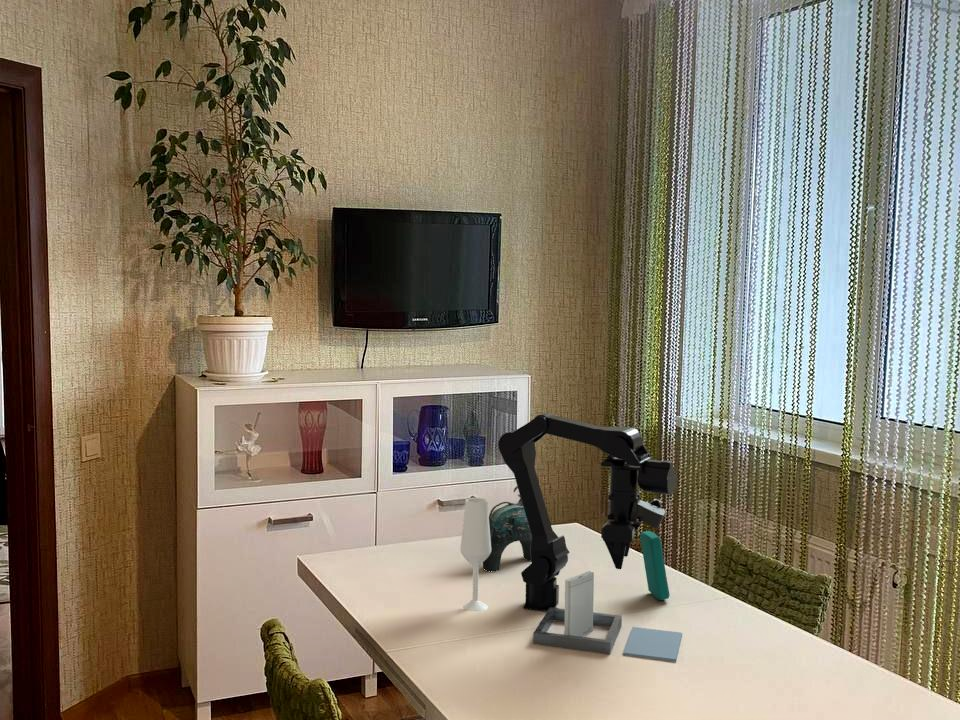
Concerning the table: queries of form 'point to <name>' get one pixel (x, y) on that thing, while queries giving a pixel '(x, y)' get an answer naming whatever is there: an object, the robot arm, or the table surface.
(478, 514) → the champagne flute
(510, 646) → the table surface
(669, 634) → the mat
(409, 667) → the table surface
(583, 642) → the gray square frame
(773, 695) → the table surface
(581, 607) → the hard drive
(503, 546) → the green bronze animal figure
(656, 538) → the digital multimeter
